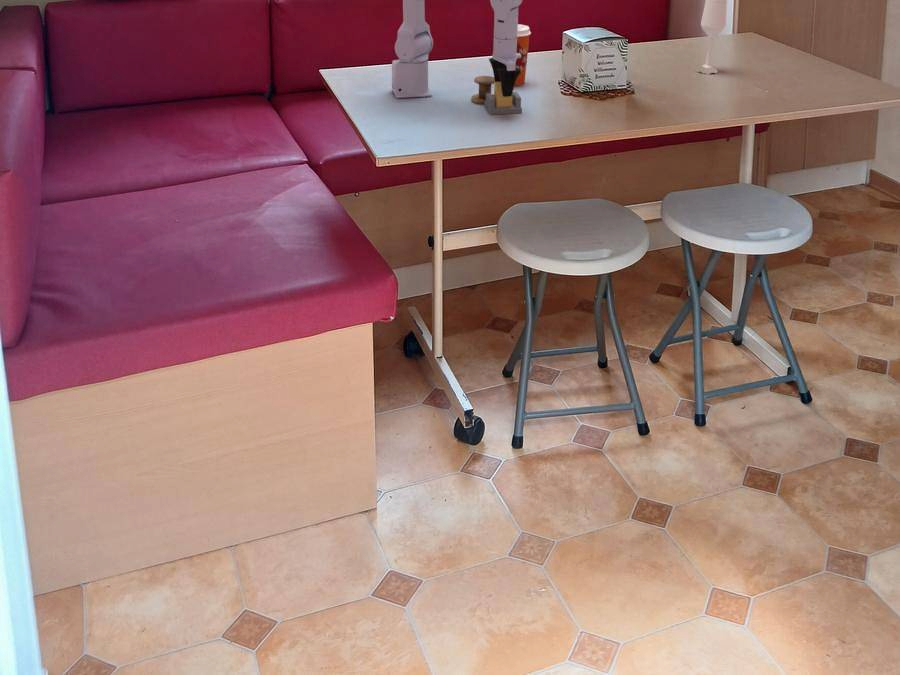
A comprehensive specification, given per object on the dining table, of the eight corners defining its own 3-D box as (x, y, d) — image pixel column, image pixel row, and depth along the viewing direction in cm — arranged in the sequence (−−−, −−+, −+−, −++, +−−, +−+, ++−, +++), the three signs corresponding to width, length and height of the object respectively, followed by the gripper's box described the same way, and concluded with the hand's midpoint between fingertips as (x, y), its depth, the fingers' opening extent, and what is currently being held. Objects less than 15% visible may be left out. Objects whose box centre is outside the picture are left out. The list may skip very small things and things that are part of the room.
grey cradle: (490, 114, 259) (490, 100, 257) (484, 106, 265) (484, 92, 263) (521, 113, 260) (522, 99, 258) (515, 104, 266) (515, 90, 264)
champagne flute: (695, 73, 292) (706, -15, 279) (694, 67, 297) (705, -20, 285) (719, 75, 291) (732, -14, 279) (718, 68, 296) (730, -19, 284)
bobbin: (474, 105, 265) (474, 83, 262) (468, 97, 271) (469, 75, 268) (500, 103, 266) (501, 82, 263) (494, 95, 272) (495, 74, 269)
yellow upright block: (496, 107, 260) (497, 85, 257) (493, 103, 263) (494, 81, 260) (511, 106, 261) (512, 84, 258) (509, 102, 263) (510, 81, 260)
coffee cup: (526, 88, 278) (528, 31, 270) (496, 86, 279) (497, 30, 272) (530, 79, 285) (533, 24, 278) (500, 77, 286) (502, 22, 279)
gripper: (528, 43, 248) (526, 99, 254) (514, 28, 260) (512, 82, 267) (499, 44, 246) (498, 100, 253) (487, 29, 259) (485, 83, 266)
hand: (503, 91), depth 260 cm, fingers open, 7 cm apart
